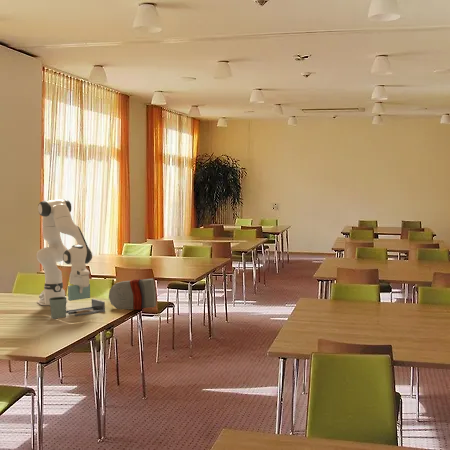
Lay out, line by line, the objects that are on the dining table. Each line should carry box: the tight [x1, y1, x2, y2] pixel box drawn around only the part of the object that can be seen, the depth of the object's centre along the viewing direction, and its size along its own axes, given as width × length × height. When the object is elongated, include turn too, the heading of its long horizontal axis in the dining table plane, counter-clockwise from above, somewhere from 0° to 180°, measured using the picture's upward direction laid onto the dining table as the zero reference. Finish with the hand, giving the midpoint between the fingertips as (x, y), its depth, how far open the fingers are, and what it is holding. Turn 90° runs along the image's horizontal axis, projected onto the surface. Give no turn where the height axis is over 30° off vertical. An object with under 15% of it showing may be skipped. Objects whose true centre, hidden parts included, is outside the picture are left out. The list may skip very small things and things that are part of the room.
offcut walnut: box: [76, 309, 95, 314], centre depth 411 cm, size 4×10×2 cm, turn 111°
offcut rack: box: [66, 298, 106, 317], centre depth 413 cm, size 15×20×7 cm
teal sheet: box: [67, 283, 91, 302], centre depth 415 cm, size 2×14×9 cm, turn 130°
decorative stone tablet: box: [108, 278, 157, 311], centre depth 424 cm, size 19×6×30 cm
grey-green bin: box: [49, 296, 67, 320], centre depth 402 cm, size 10×10×12 cm
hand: (79, 292), depth 415 cm, fingers closed on teal sheet, 2 cm apart
